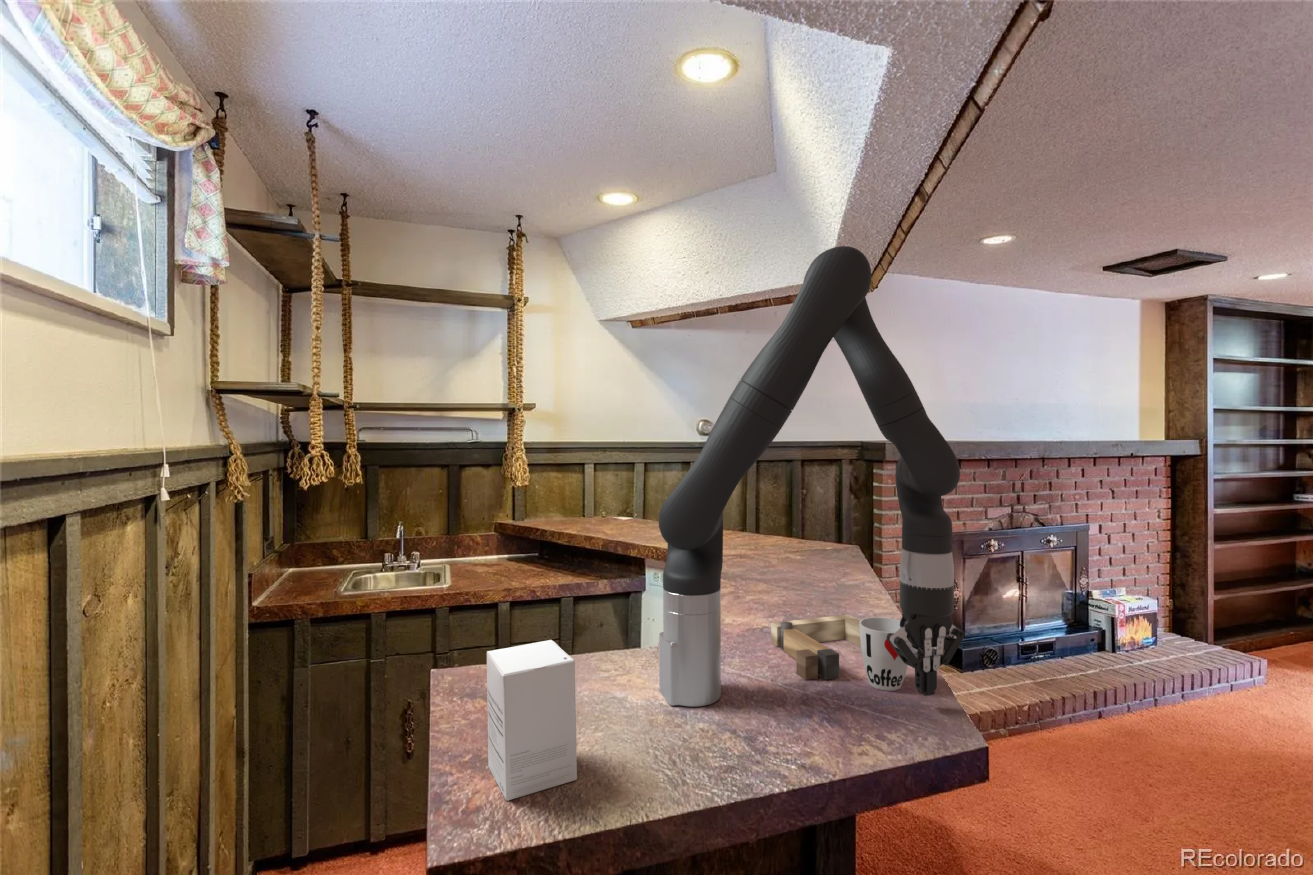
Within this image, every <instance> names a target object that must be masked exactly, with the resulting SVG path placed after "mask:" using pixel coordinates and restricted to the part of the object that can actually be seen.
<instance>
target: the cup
mask: <svg viewBox="0 0 1313 875" xmlns="http://www.w3.org/2000/svg"><path fill="white" fill-rule="evenodd" d="M860 620H861V621H860V622H859V623H860V640H861V648H860V650H861V651H860V652H861V656H862V657H861V658H862V663H863V668H864V671H865V672H864V673H865V674H866V675H865V676H866V678H867V682H868V684H869V685H870V687H872V688H874V689H877V690H881V691H888V692H890V691H892V692H893V691H894V692H895V691H897V690H901V688H902V686H903V683H904V680H905V676H906V674H907V670H908V665H907V664H905V663H904V662H903V661H902V659H901V658H900V657H899V655H898V654H897V653H896V651H895V650H894V648H893V647H892V646H891V644H890V643H889V641H888V640H887V635H888V634H889V633H892V634H895V633H896V632H897V631H898V629H899V628H900V620H901V619H894V618H889V617H879V616H878V617H876V616H875V617H867V618H866V617H865V618H861V619H860ZM907 640H908V639H907ZM908 642H909V640H908ZM908 647H909V648H910V646H909V644H908Z"/></svg>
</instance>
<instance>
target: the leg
mask: <svg viewBox="0 0 1313 875" xmlns="http://www.w3.org/2000/svg"><path fill="white" fill-rule="evenodd" d="M780 622H781V647H780V649H782V650H783V652H785V653H786V654H788V655H789V656H791V657H792V658H793V659H795V660H796V651H797V650H805V649H809V650H811V651H812V652H814V653H816V654H817V655H818V676H820V677H821V678H822V679H824V680H831V679H838V678H839V679H840V653H838V652H837V651H835V650H833V648H829V647H827V646H826V645H824V644H822V642H817V641H816V640H814V639H812V638H810V637H809V636H807V635H805V634H804V633H802V632H800V631H799V630H797V629H795V628H794V629H793V623H791V622H784V621H780Z"/></svg>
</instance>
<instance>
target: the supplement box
mask: <svg viewBox="0 0 1313 875" xmlns="http://www.w3.org/2000/svg"><path fill="white" fill-rule="evenodd" d="M486 689H487V690H486V692H487V694H486V696H487V698H486V699H487V746H488V748H487V750H488V752H487V753H488V754H487V756H488V760H487V761H488V764H487V765H488V768H489V770H490V773H491V774H492V776H493V778H494V779H495V782H496V784H497V785H498V787H499V789H500V791H501V793H502V795H503V797H504V799H505V801H511V800H514V799H518V798H521V797H525V796H527V795H531V794H534V793H537V792H541V791H544V790H548V789H550V788H551V789H552V788H554V787H558V786H560V785H563V784H568V783H571V782H574V781H576V780H577V779H578V770H577V769H578V765H577V764H578V762H577V761H578V760H577V756H578V755H577V714H576V713H577V710H576V661H575V659H574V658H572V657H571V656H570V655H569V654H568V653H567V652H566V651H564V650H563V649H562V648H561V647H560V645H559V644H557V643H556V642H555V641H554V640H552V639H548V640H543V641H536V642H532V643H527V644H519V645H514V646H511V647H506V648H505V647H504V648H499V649H493V650H487V651H486Z"/></svg>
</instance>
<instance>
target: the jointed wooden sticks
mask: <svg viewBox="0 0 1313 875" xmlns="http://www.w3.org/2000/svg"><path fill="white" fill-rule="evenodd" d="M861 620H862V619H858V618H857V617H854V616H853V615H850V614H839V615H831V616H821V617H813V618H803V619H794V620H786V621H783V622H791V623H793V629H794V628H795V629H797V630H799V631H800V632H802V633H804V634H805V635H807V636H809V637H810V638H812V639H814V640H816V641H817V642H819V643H822V642H823V643H824V642H831V641H839V640H846V641H848V642H850V643H852V644H854V645H856V646H857V647H858V648H860V649H861V640H860V623H859V622H860V621H861ZM781 622H782V621H776V622H771V623H770V644H772V645H773V646H775V647H776V646H777V647H776V648H781ZM795 661H796V662H795V663H796V668H795V670H796V674H797V675H798V676H799V677H800V678H802V679H803V680H805V681H808V680H816V679H819V675H818V655H817V654H816V653H814V652H812V651H811V650H809V649H805V650H797V651H796V659H795Z"/></svg>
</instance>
